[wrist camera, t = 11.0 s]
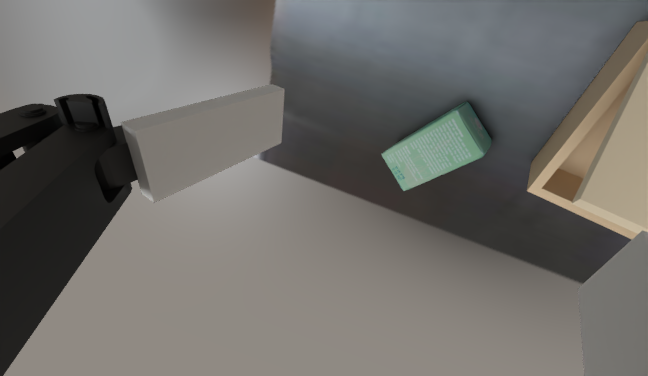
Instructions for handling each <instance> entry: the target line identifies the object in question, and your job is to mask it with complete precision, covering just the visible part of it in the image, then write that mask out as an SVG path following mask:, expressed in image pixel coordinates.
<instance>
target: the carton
mask: <svg viewBox="0 0 648 376" xmlns="http://www.w3.org/2000/svg"><path fill="white" fill-rule="evenodd" d="M647 51H648V21H641V22H636V24H635V25H634V26H633V28H632V29H631V30H630V32H629V33H628V34H627V36H626V37H625V38H624V40H623V41H622V42H621V44H620V45H619V46H618V48H617V49H616V50H615V52H614V53H613V54H612V56H611V57H610V58H609V60H608V61H607V62H606V64H605V65H604V66H603V68H602V69H601V70H600V72H599V73H598V74H597V76H596V77H595V78H594V80H593V81H592V82H591V84H590V85H589V86H588V88H587V89H586V90H585V92H584V93H583V94H582V96H581V97H580V98H579V100H578V101H577V102H576V104H575V105H574V106H573V108H572V109H571V110H570V112H569V113H568V114H567V116H566V117H565V118H564V120H563V121H562V122H561V124H560V125H559V126H558V128H557V129H556V130H555V132H554V133H553V134H552V136H551V137H550V138H549V140H548V141H547V142H546V144H545V145H544V146H543V148H542V149H541V150H540V152H539V153H538V154H537V156H536V157H535V158H534V160H533V161H532V162H531V168H530V174H529V181H528V187H527V191H528V192H531V193H533V194H535V195H537V196H539V197H541V198H544V199H546V200H548V201H550V202H552V203H554V204H557V205H559V206H561V207H563V208H565V209H567V210H570V211H572V212H574V213H576V214H578V215H580V216H583V217H585V218H587V219H589V220H591V221H593V222H596V223H598V224H600V225H602V226H604V227H606V228H609V229H611V230H613V231H615V232H617V233H619V234H622V235H624V236H626V237H628V238H630V239H633V238H635V237H636V236H637V235H638V234H637V233H635V232H633V231H630V230H628V229H626V228H624V227H622V226H619V225H617V224H615V223H613V222H610V221H608V220H606V219H604V218H602V217H599V216H597V215H595V214H593V213H591V212H588V211H586V210H584V209H582V208H580V207H577V206H575V205H573V204H571V203H572V201H573V199H574V197H575V195H576V193H577V191H578V189H579V187H580V185H581V183H582V181H583V179H584V177H585V175H586V173H587V171H588V169H589V167H590V165H591V163H592V161H593V159H594V157H595V155H596V153H597V151H598V149H599V147H600V145H601V143H602V141H603V139H604V137H605V135H606V133H607V131H608V129H609V127H610V125H611V123H612V121H613V119H614V117H615V115H616V113H617V111H618V109H619V107H620V105H621V103H622V101H623V99H624V97H625V95H626V93H627V91H628V89H629V87H630V85H631V83H632V81H633V79H634V77H635V75H636V73H637V71H638V69H639V67H640V65H641V63H642V61H643V59H644V57H645V55H646V53H647Z"/></svg>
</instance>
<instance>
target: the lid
mask: <svg viewBox="0 0 648 376" xmlns="http://www.w3.org/2000/svg"><path fill="white" fill-rule="evenodd" d="M571 204H573V205H575V206H577V207H580V208H582V209H584V210H586V211H588V212H591V213H593V214H595V215H597V216H599V217H602V218H604V219H606V220H608V221H610V222H613V223H615V224H617V225H619V226H622V227H624V228H626V229H628V230H630V231H633V232H635V233H637V234H639V233H640V232H641V231H642V230H643V231H645V232H648V51H647V53H646V55H645V57H644V59H643V61H642V63H641V65H640V67H639V69H638V71H637V73H636V75H635V77H634V79H633V81H632V83H631V85H630V87H629V89H628V91H627V93H626V95H625V97H624V99H623V101H622V103H621V105H620V107H619V109H618V111H617V113H616V115H615V117H614V119H613V121H612V123H611V125H610V127H609V129H608V131H607V133H606V135H605V137H604V139H603V141H602V143H601V145H600V147H599V149H598V151H597V153H596V155H595V157H594V159H593V161H592V163H591V165H590V167H589V169H588V171H587V173H586V175H585V177H584V179H583V181H582V183H581V185H580V187H579V189H578V191H577V193H576V195H575V197H574V199H573V201H572V203H571Z"/></svg>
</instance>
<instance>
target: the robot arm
mask: <svg viewBox="0 0 648 376" xmlns="http://www.w3.org/2000/svg"><path fill="white" fill-rule="evenodd" d="M54 102H55V104H56V106H57V107H54V106H51V105H44V104H30V105H25V106H22V107H19V108H15V109H12V110H9V111H6V112H4V113H0V376H3V375H4V373H5V372H6V371H7V369H8V368H9V366H10V365H11V363H12V362H13V361H14V359H15V358H16V356H17V355H18V353H19V352H20V350H21V349H22V348H23V346H24V345H25V343H26V342H27V340H28V339H29V338H30V336H31V335H32V333H33V332H34V330H35V329H36V328H37V326H38V325H39V323H40V322H41V320H42V319H43V318H44V316H45V315H46V313H47V312H48V310H49V309H50V307H51V306H52V305H53V303H54V302H55V300H56V299H57V297H58V296H59V295H60V293H61V292H62V290H63V289H64V287H65V286H66V285H67V283H68V281H69V280H70V279H71V277H72V276H73V274H74V273H75V271H76V270H77V269H78V267H79V266H80V264H81V263H82V262H83V260H84V259H85V257H86V256H87V254H88V253H89V251H90V250H91V249H92V247H93V246H94V244H95V243H96V242H97V240H98V239H99V237H100V236H101V234H102V233H103V231H104V230H105V229H106V227H107V226H108V224H109V223H110V221H111V220H112V218H113V217H114V216H115V214H116V213H117V211H118V210H119V209H120V207H121V206H122V204H123V203H124V201H125V200H126V198H127V197H128V195H129V194H130V193H131V190H132V187H131V183H130V182H133V181H135V180H138V183H139V186H140V189H141V193H142V194H143V195H144V196H146V197H147V198H148V199H150V200H151V201H152V202H154V203H155V202H157V201H160V200H161V199H164V198H166V197H168V196H170V195H172V194H174V193H176V192H178V191H181V190H183V189H185V188H187V187H189V186H191V185H193V184H195V183H197V182H199V181H202V180H204V179H206V178H208V177H210V176H212V175H214V174H217V173H219V172H221V171H223V170H225V169H227V168H229V167H231V166H233V165H235V164H238V163H240V162H242V161H244V160H246V159H248V158H250V157H252V156H255V155H257V154H259V153H261V152H263V151H265V150H267V149H269V148H271V147H274V146H276V145H278V144H280V143H281V139H282V122H283V105H284V89H283V88H281V87H278V86H275V85H273V84H270V85H266V86H262V87H258V88H255V89H251V90H247V91H243V92H239V93H235V94H231V95H227V96H223V97H219V98H215V99H211V100H207V101H203V102H199V103H195V104H191V105H187V106H183V107H179V108H175V109H171V110H168V111H164V112H159V113H156V114H151V115H147V116H144V117H140V118H136V119H132V120H128V121H124V122H121V126H117V127H113V126H112V123H111V120H110V117H109V113H108V110H107V107H106V104H105V101H104V99H103V98H102V97H99V96H97V95H92V94H74V95H67V96H62V97H59V98H56V99H54ZM20 147H23V149H24V151H25V153H24V154H23V155H21V156H20V157H18V158H17V159H16V157H15V155H14V153H13V152H12V151H14V150H16V149H18V148H20ZM578 298H579V311H580V323H581V337H582V350H583V365H584V376H648V232H645V231H643V230H642V231H641V232H640V233H639V234H638V235H637V236H636V237H635V238H633V239H632V240H631V241H630V242H629V243H628V244H627V245H626V246H625V247H623V248H622V249H621V250H620V251H619V252H618V253H617V254H616V255H615V256H614V257H612V258H611V259H610V260H609V261H608V262H607V263H606V264H605V265H604V266H602V267H601V268H600V269H599V270H598V271H597V272H596V273H595V274H594V275H593V276H591V277H590V278H589V279H588V280H587V281H586V282H585V283H584V284H583V285H581V286H580V287H579V288H578Z"/></svg>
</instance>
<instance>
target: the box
mask: <svg viewBox="0 0 648 376" xmlns="http://www.w3.org/2000/svg"><path fill="white" fill-rule="evenodd" d="M491 142H492V139H491V138H490V136H489V135H488V133H487V131H486V130H485V128H484V127H483V125H482V124H481V122H480V120H479V119H478V117H477V115H476V114H475V112H474V111H473V109H472V107H471V105H470V104H469V103H468V102H467V101H466V102H464V103H462V104H460V105H459V106H457V107H455V108H454V109H452V110H450V111H449V112H447V113H445V114H444V115H442V116H440V117H439V118H437V119H435V120H434V121H432V122H430V123H429V124H427V125H425V126H424V127H422V128H420V129H419V130H417V131H415V132H414V133H412V134H411V135H409V136H407V137H406V138H404V139H402V140H401V141H399V142H398V143H396V144H394V145H393V146H392V147H390V148H389V149H388V150H386V151H385V152H384V153H382V157H383V158H384V160H385V162H386V163H387V165H388V167H389V168H390V170H391V171H392V173H393V175H394V176H395V178H396V180H397V181H398V183H399V185H400V186H401V188H402V190H403V191H406V190H408V189H411V188H413V187H415V186H418V185H420V184H422V183H424V182H427V181H429V180H431V179H433V178H436V177H438V176H440V175H442V174H445V173H447V172H449V171H452V170H454V169H456V168H459V167H461V166H463V165H465V164H468V163H470V162H472V161H475V160H477V159H480V158H482V157H483V156H484V155H485V154H486V153H487V151H488V149H489V148H490V146H491Z"/></svg>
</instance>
